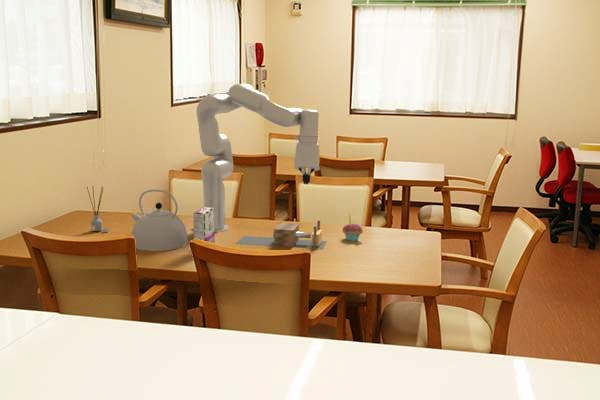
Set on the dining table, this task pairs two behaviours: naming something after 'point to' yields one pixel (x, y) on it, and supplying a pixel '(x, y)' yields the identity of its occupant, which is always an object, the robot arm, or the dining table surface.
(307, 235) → the pin
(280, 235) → the hitch block
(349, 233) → the cupcake
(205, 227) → the candy bar box
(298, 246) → the base mat
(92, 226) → the reed diffuser
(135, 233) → the kettle
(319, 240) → the beige small block
